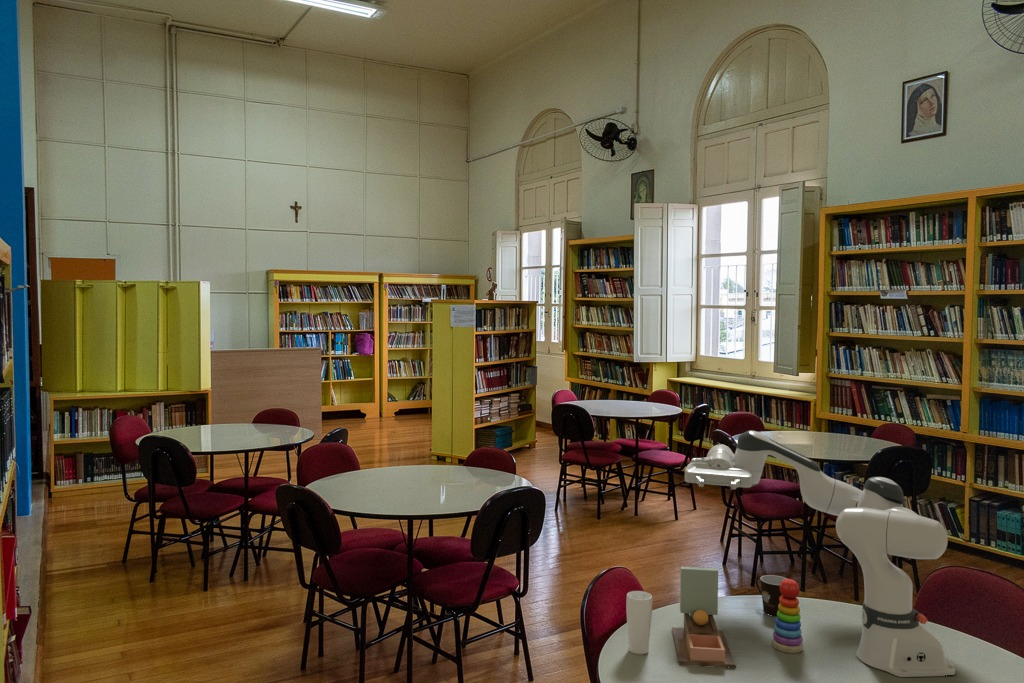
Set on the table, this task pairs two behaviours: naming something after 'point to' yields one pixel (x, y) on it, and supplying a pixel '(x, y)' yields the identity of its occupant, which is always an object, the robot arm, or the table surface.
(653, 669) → the table surface
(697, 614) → the orange rubber ball
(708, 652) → the terracotta cup
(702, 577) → the pale green panel
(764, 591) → the coffee mug
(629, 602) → the drinking glass
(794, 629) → the stacking toy
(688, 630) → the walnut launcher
